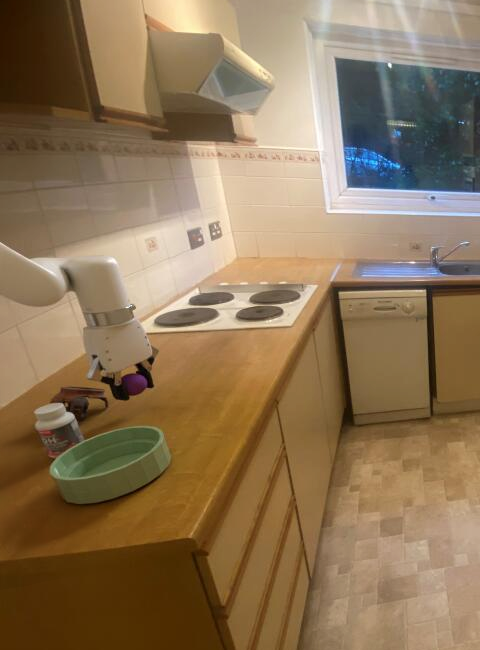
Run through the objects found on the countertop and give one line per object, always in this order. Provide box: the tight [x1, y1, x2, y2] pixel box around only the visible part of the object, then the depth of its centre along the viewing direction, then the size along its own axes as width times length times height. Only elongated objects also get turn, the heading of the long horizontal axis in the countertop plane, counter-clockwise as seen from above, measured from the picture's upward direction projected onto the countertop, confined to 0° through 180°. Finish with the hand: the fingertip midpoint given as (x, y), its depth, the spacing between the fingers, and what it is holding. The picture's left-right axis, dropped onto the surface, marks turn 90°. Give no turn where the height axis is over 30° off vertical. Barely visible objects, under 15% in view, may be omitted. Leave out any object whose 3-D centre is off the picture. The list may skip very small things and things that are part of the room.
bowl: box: [49, 425, 173, 505], centre depth 78 cm, size 15×15×6 cm
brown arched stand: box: [49, 386, 109, 423], centre depth 95 cm, size 12×10×8 cm
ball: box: [121, 372, 147, 397], centre depth 96 cm, size 5×5×5 cm
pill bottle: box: [33, 403, 86, 459], centre depth 83 cm, size 5×5×10 cm
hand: (135, 392), depth 96 cm, fingers closed on ball, 4 cm apart
